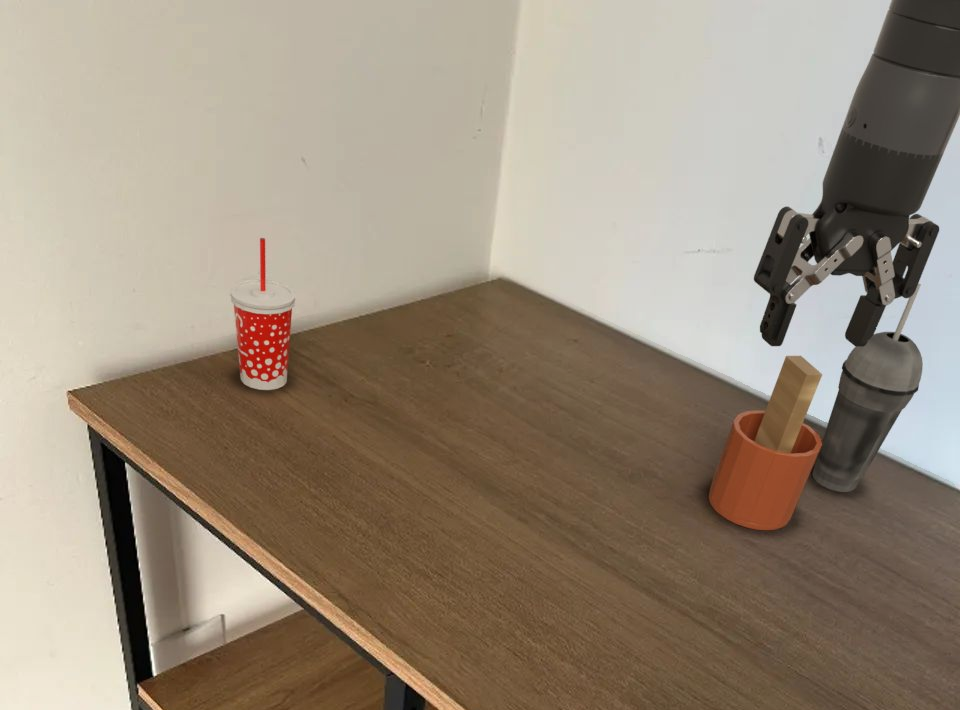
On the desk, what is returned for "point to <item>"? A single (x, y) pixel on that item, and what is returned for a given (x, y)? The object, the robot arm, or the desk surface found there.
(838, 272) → the robot arm
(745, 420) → the utensil cup
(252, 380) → the beverage cup
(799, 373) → the wooden block
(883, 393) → the beverage cup
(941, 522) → the desk surface
